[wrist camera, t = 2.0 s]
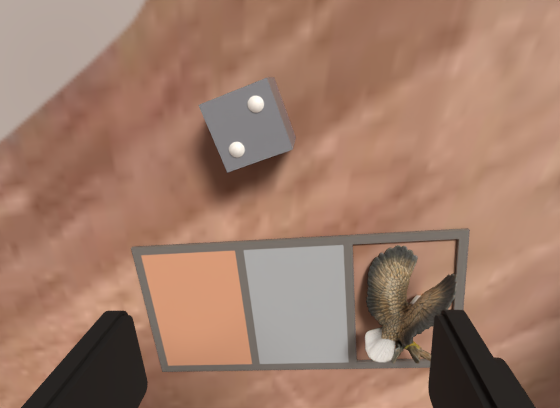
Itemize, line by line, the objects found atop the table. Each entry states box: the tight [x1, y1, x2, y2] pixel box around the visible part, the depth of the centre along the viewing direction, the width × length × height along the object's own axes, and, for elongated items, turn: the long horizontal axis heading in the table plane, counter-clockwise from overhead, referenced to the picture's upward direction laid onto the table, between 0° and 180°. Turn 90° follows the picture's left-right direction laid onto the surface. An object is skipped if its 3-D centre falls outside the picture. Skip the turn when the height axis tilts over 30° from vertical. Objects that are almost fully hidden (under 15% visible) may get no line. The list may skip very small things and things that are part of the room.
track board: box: [131, 228, 470, 372], centre depth 35 cm, size 30×15×1 cm, turn 95°
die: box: [199, 77, 296, 173], centre depth 28 cm, size 5×5×5 cm
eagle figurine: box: [365, 245, 458, 364], centre depth 32 cm, size 8×7×9 cm
